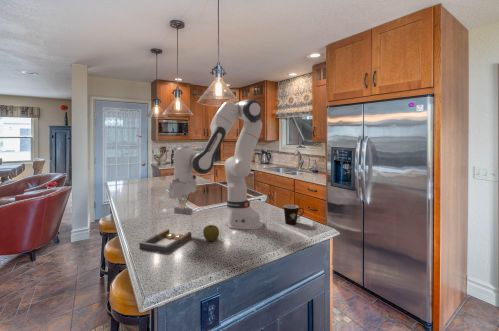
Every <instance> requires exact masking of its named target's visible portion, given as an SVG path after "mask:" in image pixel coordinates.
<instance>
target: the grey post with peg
mask: <svg viewBox="0 0 499 331" xmlns="http://www.w3.org/2000/svg"><path fill="white" fill-rule="evenodd" d="M182 201H183V204H182V205H181V204H180V206H176V207H174V208H173V209H174V210H173V211H174V212H173V213H174V214H178V215H187V216H192V215H193V214H194V212H193V208H191V207H190V208H188V207H187V203H186V197H184V196H182Z"/></svg>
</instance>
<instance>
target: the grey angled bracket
mask: <svg viewBox="0 0 499 331" xmlns="http://www.w3.org/2000/svg"><path fill="white" fill-rule="evenodd" d="M155 235H156V234H155ZM155 235H152V236H150V237H149V238H146V239H144V240H142V241H140V242H139V249H142V250H147V249H148V250H147V251H152V250H153V252H158V251H159V253H164V254H168V253H169V252H171V251H172V250H175V248H177V247H178V245H179V246H180V245H181V244H180V239H176V240H175V239H174V240H173V241H172V242H170V243H168V244H166V245H164V244H163V245H162V244H157V243H155V241H156V242H157V241H158V240H157V236H155Z"/></svg>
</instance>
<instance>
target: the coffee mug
mask: <svg viewBox="0 0 499 331" xmlns="http://www.w3.org/2000/svg"><path fill="white" fill-rule="evenodd" d="M300 210H302V212H301V214H299V211H300ZM283 212H284V214H283V215H284V222H285V224H286V225H287V226H288V225H289V226H295V225H297V221H298V218H300V217H301V216H302V215H303V214H304V212H305V210H304V208H303V207H299V206H298V205H296V204H285V205H283ZM298 214H299V215H298Z"/></svg>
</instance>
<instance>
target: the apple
mask: <svg viewBox="0 0 499 331" xmlns="http://www.w3.org/2000/svg"><path fill="white" fill-rule="evenodd" d="M202 234H203V235H202V236H203V237H204V239H205V240H206V241H209V242H216V241H217V240H218V239H219V236H220V230H219V227H218V226H217V225H214V224H210V225H209V224H208V225H206V226H205V227H203V232H202Z"/></svg>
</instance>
